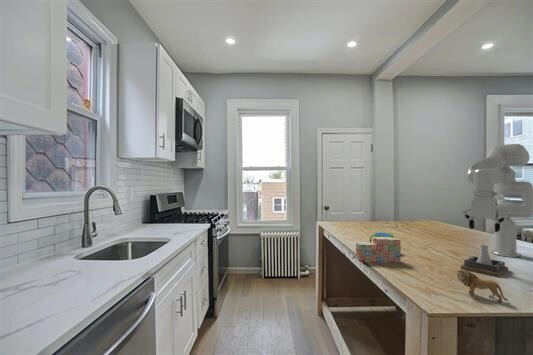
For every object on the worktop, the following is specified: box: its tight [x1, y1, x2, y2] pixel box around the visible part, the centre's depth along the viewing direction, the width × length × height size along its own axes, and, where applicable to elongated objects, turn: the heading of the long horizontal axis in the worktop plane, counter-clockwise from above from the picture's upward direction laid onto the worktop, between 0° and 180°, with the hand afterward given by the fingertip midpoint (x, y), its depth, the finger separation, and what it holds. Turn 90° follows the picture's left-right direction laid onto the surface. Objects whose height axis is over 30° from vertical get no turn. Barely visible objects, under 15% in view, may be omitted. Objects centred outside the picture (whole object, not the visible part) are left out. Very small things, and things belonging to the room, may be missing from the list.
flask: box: [477, 244, 493, 265], centre depth 132 cm, size 7×7×10 cm
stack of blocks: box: [355, 236, 402, 264], centre depth 147 cm, size 21×6×12 cm, turn 86°
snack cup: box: [369, 232, 395, 242], centre depth 167 cm, size 16×11×10 cm
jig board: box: [460, 255, 509, 278], centre depth 132 cm, size 16×14×4 cm
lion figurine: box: [456, 268, 509, 303], centre depth 101 cm, size 15×5×9 cm, turn 54°
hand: (484, 230), depth 133 cm, fingers open, 9 cm apart
